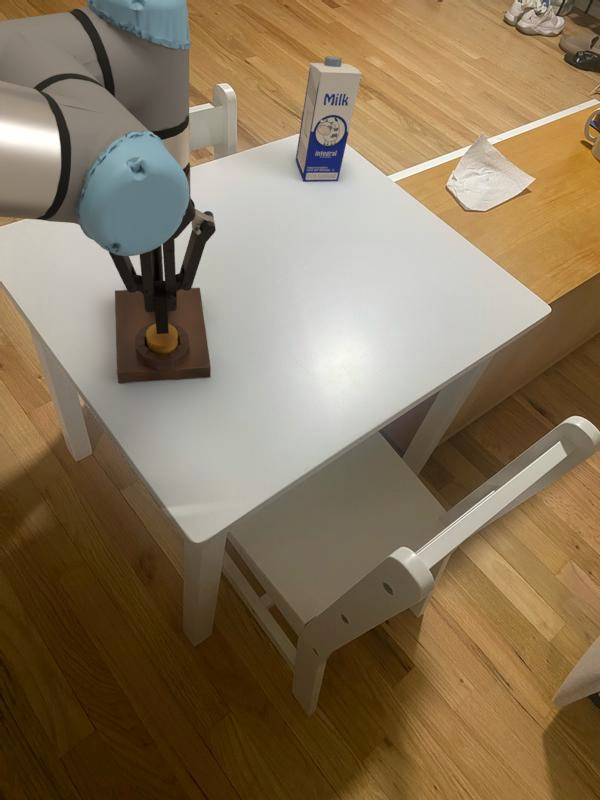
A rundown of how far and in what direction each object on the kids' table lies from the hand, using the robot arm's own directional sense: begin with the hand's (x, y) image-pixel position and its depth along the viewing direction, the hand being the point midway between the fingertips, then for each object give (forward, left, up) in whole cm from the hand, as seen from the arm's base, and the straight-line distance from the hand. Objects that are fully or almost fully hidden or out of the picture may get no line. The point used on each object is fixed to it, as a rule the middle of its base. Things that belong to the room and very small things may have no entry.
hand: (162, 325), depth 77 cm
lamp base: (0, +4, -7) cm, 8 cm away
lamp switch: (0, 0, -3) cm, 3 cm away
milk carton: (+31, +44, -7) cm, 54 cm away
